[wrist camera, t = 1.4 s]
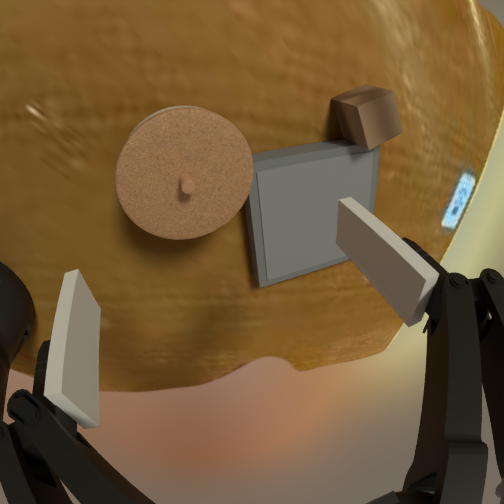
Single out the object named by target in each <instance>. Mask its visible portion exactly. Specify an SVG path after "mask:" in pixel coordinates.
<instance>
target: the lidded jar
mask: <svg viewBox="0 0 504 504" xmlns="http://www.w3.org/2000/svg"><path fill="white" fill-rule="evenodd" d="M253 173H254V165H253V157H252V154H251V150H250V147H249V145H248V143H247V141H246V139H245V138H244V136H243V135H242V133H241V132H240V131H239V130H238V129H237V128H236V127H235V126H234V125H233V124H232V123H231V122H230V121H228V120H227V119H225V118H224V117H222V116H221V115H218V114H216V113H214V112H212V111H209V110H206V109H203V108H199V107H195V106H173V107H169V108H165V109H162V110H160V111H157V112H155V113H153V114H152V115H150V116H148V117H147V118H145V119H144V120H143V121H142V122H141V123H139V124H138V125H137V126H136V128H135V129H134V130H133V131H132V132H131V134H130V135H129V137H128V139H127V140H126V142H125V143H124V145H123V147H122V149H121V151H120V154H119V156H118V159H117V164H116V169H115V188H116V194H117V197H118V200H119V203H120V204H121V206H122V208H123V210H124V212H125V213H126V214H127V216H128V217H129V218H130V219H131V220H132V221H133V222H134V223H135V224H136V225H137V226H138V227H140V228H141V229H143V230H144V231H146V232H148V233H150V234H152V235H155V236H158V237H162V238H166V239H173V240H184V239H192V238H196V237H200V236H204V235H206V234H209V233H211V232H213V231H215V230H217V229H218V228H220V227H222V226H223V225H224V224H226V223H227V222H228V221H230V220H231V219H232V218H233V217H234V216H235V215H236V214H237V212H238V211H239V210H240V208H241V207H242V206H243V204H244V202H245V201H246V199H247V197H248V194H249V192H250V189H251V186H252V181H253Z"/></svg>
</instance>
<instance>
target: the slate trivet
mask: <svg viewBox="0 0 504 504" xmlns="http://www.w3.org/2000/svg"><path fill="white" fill-rule="evenodd" d="M379 147H380V145H378V146H376V147H374V148H372V149H371V150H367V149H365V148H363V147H361V146H359V145H357V144H355V143H353V142H351V141H349V140H347V139H341V140H333V141H326V142H319V143H312V144H306V145H300V146H294V147H288V148H282V149H276V150H271V151H265V152H260V153H255V154H252V157H253V165H254V173H253V181H252V186H251V189H250V192H249V194H248V197H247V199H246V201H245V202H244V205H245V213H246V220H247V228H248V236H249V243H250V251H251V259H252V266H253V274H254V277H255V279H256V281H257V283H258V285H259V287H260V288H261V287H264V286H268V285H271V284H274V283H278V282H281V281H284V280H287V279H290V278H294V277H297V276H300V275H303V274H306V273H310V272H313V271H316V270H319V269H322V268H325V267H328V266H331V265H334V264H337V263H340V262H344V261H347V260H350V258H349V257H348V256H347V255H346V254H345V253H344V252H343V251H342V250H341V249H340V247H339V246H338V245H337V244H336V236H337V219H338V200H339V199H344V198H348V197H352V198H353V199H354V200H355V201H357V202H358V203H359V204H360V205H362V206H363V207H364V208H365V209H367V210H368V211H369V212H370V213H371V214H373V213H374V205H375V195H376V185H377V174H378V162H379Z"/></svg>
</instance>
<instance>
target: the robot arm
mask: <svg viewBox="0 0 504 504" xmlns="http://www.w3.org/2000/svg"><path fill="white" fill-rule="evenodd" d="M336 244H337V245H338V246H339V247H340V249H341V250H342V251H343V252H344V253H345V254H346V255H347V256H348V257H349V258H350V260H351V261H352V262H353V263H354V264H355V265H356V266H357V267H358V269H359V270H360V271H361V272H362V273H363V274H364V275H365V276H366V278H367V279H368V280H369V281H370V282H371V283H372V285H373V286H374V287H375V288H376V289H377V290H378V291H379V293H380V294H381V295H382V296H383V297H384V298H385V300H386V301H387V302H388V303H389V304H390V306H391V307H392V308H393V309H394V310H395V312H396V313H397V314H398V315H399V316H400V318H401V319H402V320H403V321H404V322H405V324H406V325H407V326H408V327H410V326H412V325H414V324H416V323H418V322H420V321H421V320H422V317H423V315H424V313H425V312H426V313H427V314H428V315H429V318H428V320H427V323H426V325H425V327H424V329H423V333H425V332H426V330H427V356H426V372H425V373H426V374H425V385H424V395H423V404H422V412H421V420H420V427H419V433H418V439H417V445H416V450H415V456H414V460H413V463H412V465H411V467H410V469H409V471H408V473H407V475H406V478H405V482H404V486H403V489H402V491H400V492H394V491H392V492H390V493H388V494H386V495H383V496H381V497H379V498H377V499H374V500H372V501H370V502H368V503H366V504H481V502H482V497H483V491H484V485H485V478H486V470H487V461H488V447H487V445H486V444H485V443H484V442H482V440H481V422H482V385H483V389H484V393H485V397H486V402H487V407H488V411H489V416H490V422H491V427H492V434H493V440H494V447H495V454H496V459H497V465H498V469H499V472H500V476H501V478H502V481H501V483H500V484H499V485H498V486H497V488H496V495H497V497H499V498H501V501H500V504H504V278H503V277H502V276H501V275H500V273H498V272H497V271H496V270H493V269H489V268H487V269H484V270H483V271H482V272H481V274H480V277H479V278H475V279H467V278H466V277H465V276H463V275H462V274H459V273H448V272H447V271H446V270H445V269H444V268H443V267H442V266H441V265H440V264H439V263H437V262H436V261H435V260H434V259H433V258H432V257H431V256H430V255H428V253H426V252H425V251H424V250H422V248H421V247H420V246H419V245H417V244H416V243H415V242H413V241H411V240H409V239H407V238H402V239H401V238H400V237H398V236H397V235H396V234H395V233H394V232H393V231H392V230H390V229H389V228H388V227H387V226H386V225H385V224H383V223H382V222H381V221H380V220H379V219H377V218H376V217H375V216H374V215H373V214H371V213H370V212H369V211H368V210H367V209H365V208H364V207H363V206H362V205H360V204H359V203H358V202H357V201H355V200H354V199H353V198H352V197H348V198H344V199H339V200H338V219H337V236H336ZM489 313H490V314H491V316H492V318H491V319H490V317H489ZM100 315H101V309H100V307H99V306H98V304H97V302H96V300H95V299H94V297H93V295H92V293H91V291H90V290H89V288H88V286H87V284H86V282H85V280H84V278H83V277H82V275H81V273H80V271H79V269H77V270H73V271H70V272H67V273H65V276H64V280H63V284H62V288H61V292H60V296H59V301H58V305H57V310H56V315H55V320H54V325H53V331H52V336H51V340H48V341H44V342H43V344H42V345H41V347H40V349H39V351H38V356H37V364H36V369H35V371H36V372H35V376H34V385H33V393H32V394H31V393H30V392H28V391H27V390H24V389H21V390H17V391H16V392H15V393H13V394H12V396H11V397H10V399H9V401H8V404H7V412H8V415H9V417H10V418H12V419H13V420H15V422H13V423H11V424H9V425H8V424H6V423H5V422H4V421H3V413H4V404H5V395H6V388H7V382H8V375H9V370H10V365H11V363H12V361H13V360H14V358H15V357H16V355H17V354H18V352H19V351H20V349H21V348H22V346H23V345H24V343H25V342H26V340H27V339H28V337H29V335H30V332H31V328H32V324H33V320H34V306H33V302H32V299H31V297H30V294H29V292H28V291H27V289H26V287H25V286H24V284H23V283H22V282H21V280H20V279H19V278H18V277H17V276H16V275H15V274H14V273H13V272H12V271H11V270H10V269H9V268H8V267H7V266H5V265H4V264H2V263H1V262H0V482H1V485H2V488H3V490H4V493H5V496H6V498H7V501H8V503H9V504H73V503H72V501H71V500H70V498H69V496H68V494H67V493H66V491H65V489H64V487H63V485H62V483H61V481H62V482H63V483H64V484H65V486H66V487H67V488H68V489H69V490H70V492H71V493H72V494H73V495H74V496H75V497H76V499H77V500H78V501H79V502H80V503H81V504H155V503H154V502H153V501H152V500H150V499H149V498H148V497H146V496H145V495H144V494H143V493H142V492H140V491H139V490H138V489H137V488H136V487H134V486H133V485H132V484H131V483H130V482H129V481H128V480H126V479H125V478H124V477H123V476H122V475H121V474H120V473H119V472H118V471H117V470H115V469H114V468H113V467H112V466H111V465H110V464H109V463H108V462H107V461H106V460H105V459H104V458H103V457H102V456H101V455H100V454H99V453H98V452H97V451H96V450H95V449H94V448H93V447H92V446H91V445H90V444H89V443H88V441H87V440H86V439H85V438H84V437H83V436H82V435H81V434H80V433H79V432H77V423H78V424H79V425H80V426H82V427H83V428H84V429H85V428H93V427H100V413H99V333H100ZM59 478H60V479H59ZM60 480H61V481H60Z"/></svg>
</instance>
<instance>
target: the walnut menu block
mask: <svg viewBox="0 0 504 504" xmlns="http://www.w3.org/2000/svg"><path fill="white" fill-rule="evenodd" d="M331 101H332V104H333V107H334V110H335V113H336V116H337V119H338V122H339V125H340V129H341V132H342V135H343V138H345V139H347V140H349V141H351V142H353V143H355V144H357V145H359V146H361V147H363V148H365V149H367V150H371V149H372V148H374V147H376V146H378V145H380V144H382V143H384V142H386V141H388V140H390V139H392V138H393V137H395V136H397V135H399V134H401V133H402V129H401V123H400V118H399V113H398V109H397V104H396V99H395V95H394V91H390V90H387V89H383V88H379V87H374V86H370V85H366V84H365V85H362V86H360V87H357V88H355V89H353V90H350V91H348V92H345V93H343V94H341V95H338V96H336V97H334V98H331Z"/></svg>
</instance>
